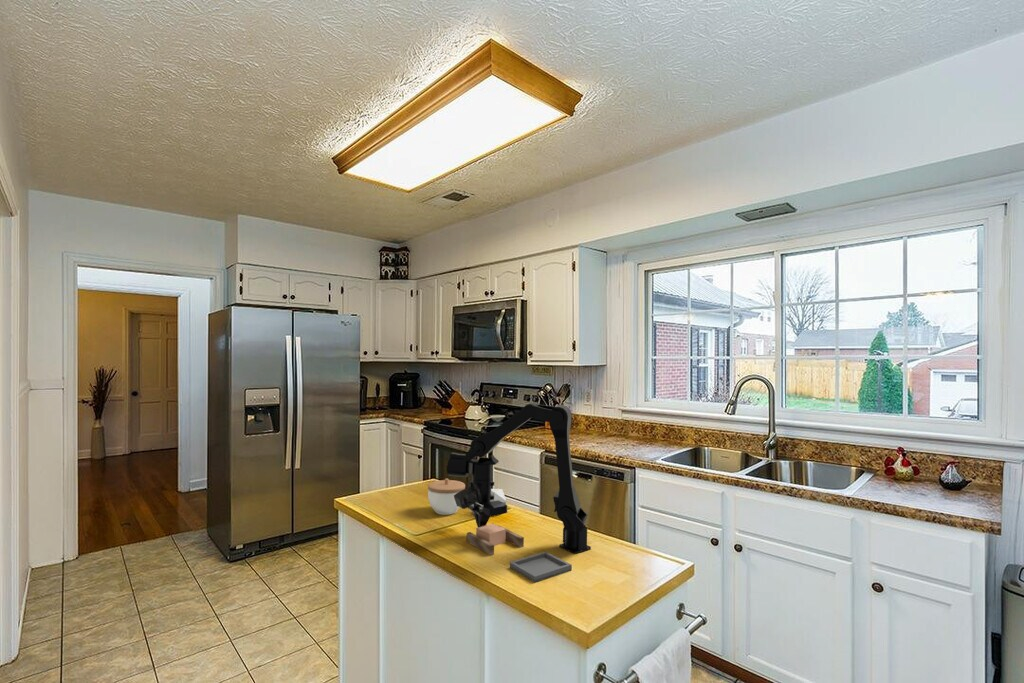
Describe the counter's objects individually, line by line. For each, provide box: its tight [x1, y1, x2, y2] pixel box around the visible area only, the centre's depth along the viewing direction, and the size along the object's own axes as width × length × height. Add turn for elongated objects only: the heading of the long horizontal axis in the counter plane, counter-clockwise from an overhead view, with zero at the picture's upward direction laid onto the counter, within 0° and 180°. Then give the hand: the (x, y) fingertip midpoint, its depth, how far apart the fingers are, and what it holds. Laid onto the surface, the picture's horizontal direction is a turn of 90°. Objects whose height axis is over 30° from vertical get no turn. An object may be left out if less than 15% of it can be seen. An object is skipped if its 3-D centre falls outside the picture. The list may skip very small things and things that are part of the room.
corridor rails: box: [466, 525, 525, 556], centre depth 143 cm, size 12×11×2 cm
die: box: [490, 488, 507, 505], centre depth 171 cm, size 8×9×10 cm
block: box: [475, 523, 507, 547], centre depth 145 cm, size 6×6×4 cm
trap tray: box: [509, 551, 573, 583], centre depth 127 cm, size 10×12×1 cm
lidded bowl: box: [427, 478, 466, 516], centre depth 171 cm, size 13×13×11 cm
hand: (480, 531), depth 149 cm, fingers closed
